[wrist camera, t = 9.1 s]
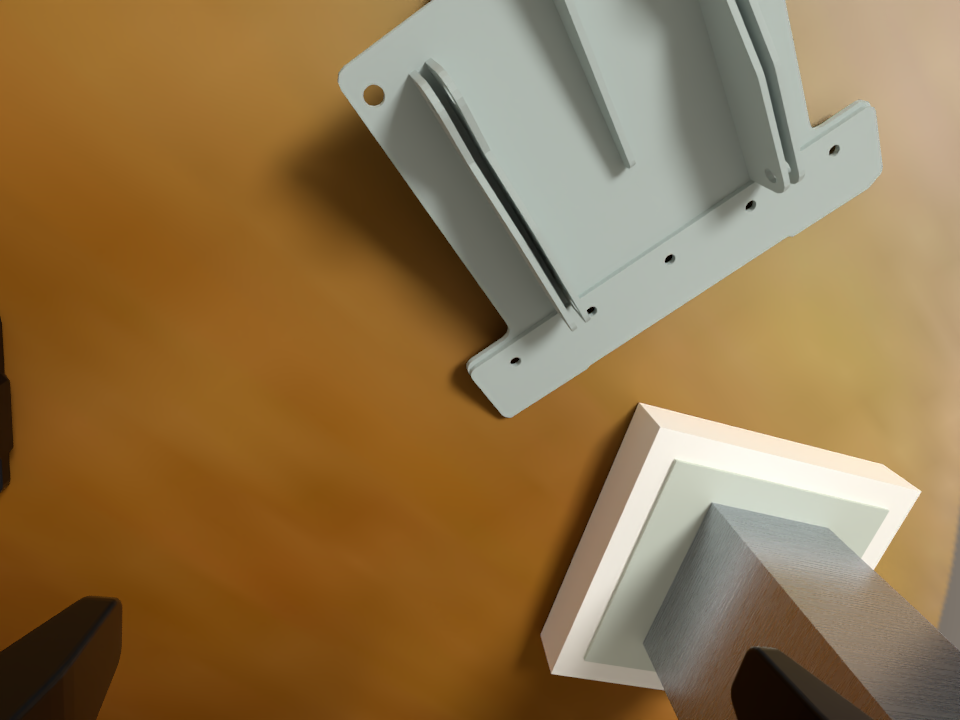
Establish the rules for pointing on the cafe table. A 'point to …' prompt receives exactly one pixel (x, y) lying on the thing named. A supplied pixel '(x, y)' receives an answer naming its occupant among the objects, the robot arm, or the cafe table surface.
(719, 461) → the plinth
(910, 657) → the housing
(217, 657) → the cafe table surface
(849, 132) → the metal bracket
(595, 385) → the cafe table surface
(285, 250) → the cafe table surface
